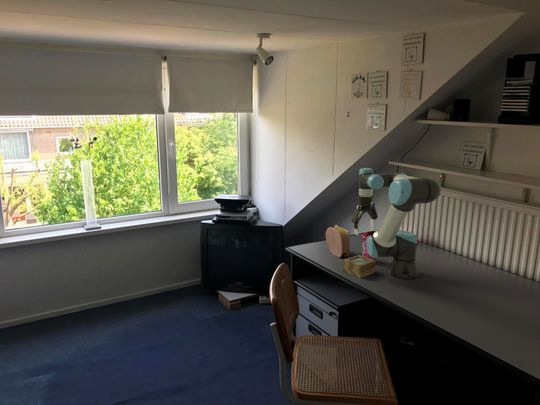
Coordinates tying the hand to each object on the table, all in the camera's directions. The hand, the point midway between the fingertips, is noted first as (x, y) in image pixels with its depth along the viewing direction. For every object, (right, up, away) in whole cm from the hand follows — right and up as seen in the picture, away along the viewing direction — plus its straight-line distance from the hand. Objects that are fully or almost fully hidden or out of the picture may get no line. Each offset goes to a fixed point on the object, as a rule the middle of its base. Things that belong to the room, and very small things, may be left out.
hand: (364, 232), depth 252 cm
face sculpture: (-13, -15, +15) cm, 25 cm away
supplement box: (+3, -17, +3) cm, 18 cm away
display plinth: (-6, -21, -13) cm, 25 cm away
